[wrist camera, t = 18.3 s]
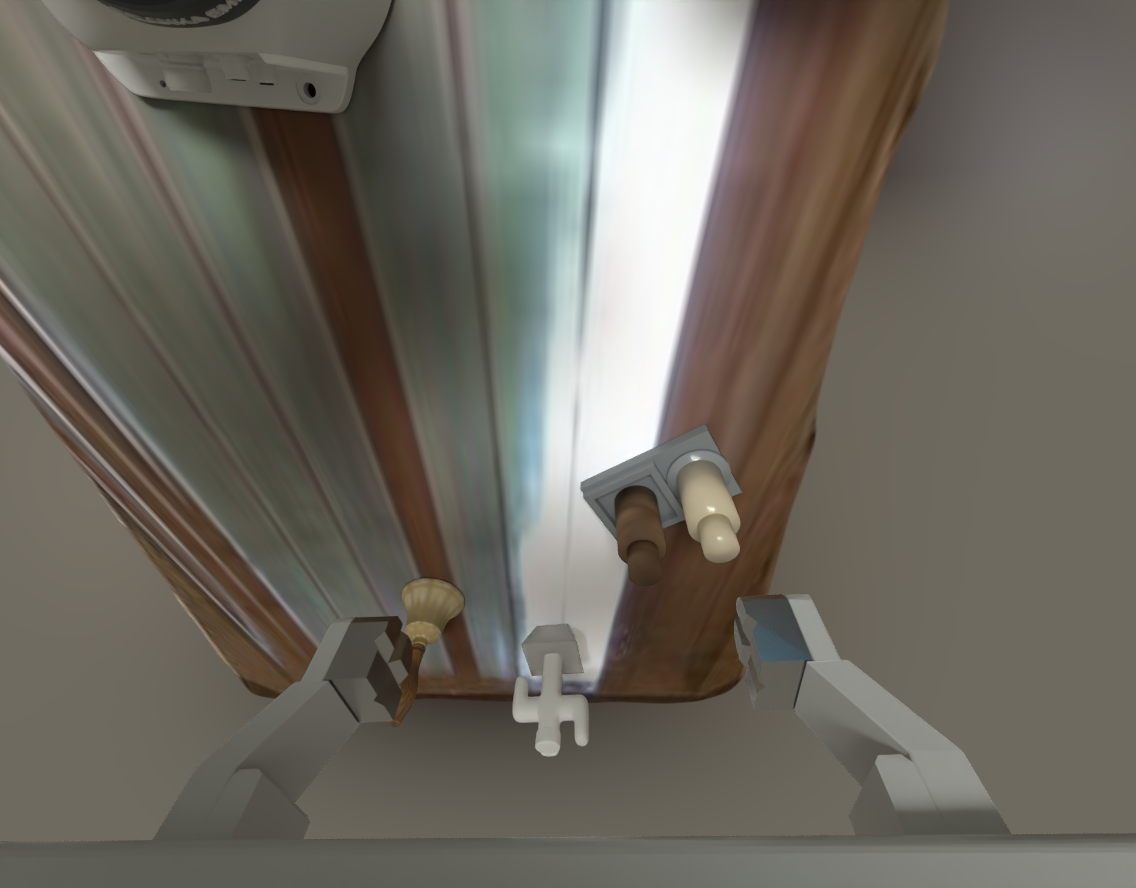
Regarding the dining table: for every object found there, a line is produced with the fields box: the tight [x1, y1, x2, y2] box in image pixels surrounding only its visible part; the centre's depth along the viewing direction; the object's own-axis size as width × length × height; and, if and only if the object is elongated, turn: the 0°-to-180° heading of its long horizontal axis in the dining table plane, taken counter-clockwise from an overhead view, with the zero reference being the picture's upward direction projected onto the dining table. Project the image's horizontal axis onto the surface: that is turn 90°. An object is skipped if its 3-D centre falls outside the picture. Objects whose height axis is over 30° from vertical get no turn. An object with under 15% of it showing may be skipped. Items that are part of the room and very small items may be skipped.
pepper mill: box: [614, 485, 666, 586], centre depth 48 cm, size 5×5×10 cm
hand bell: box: [388, 578, 465, 727], centre depth 58 cm, size 8×8×16 cm
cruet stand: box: [581, 424, 742, 563], centre depth 47 cm, size 15×9×12 cm, turn 122°
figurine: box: [513, 624, 589, 756], centre depth 61 cm, size 7×9×15 cm
